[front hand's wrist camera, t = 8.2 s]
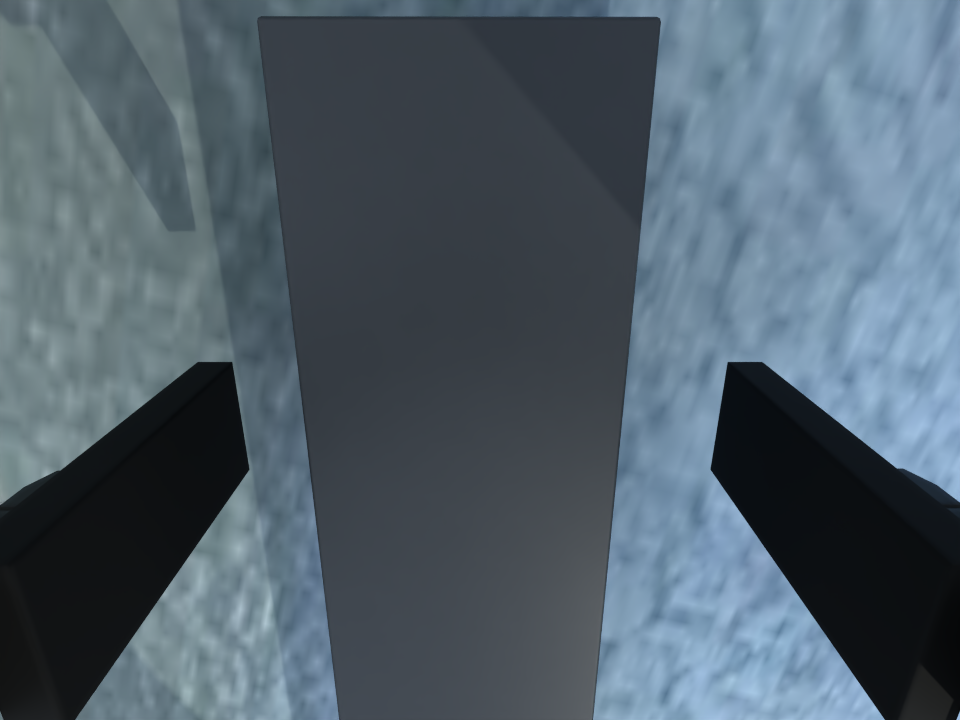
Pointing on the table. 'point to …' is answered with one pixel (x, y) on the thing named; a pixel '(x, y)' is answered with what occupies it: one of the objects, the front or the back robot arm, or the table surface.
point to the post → (462, 341)
